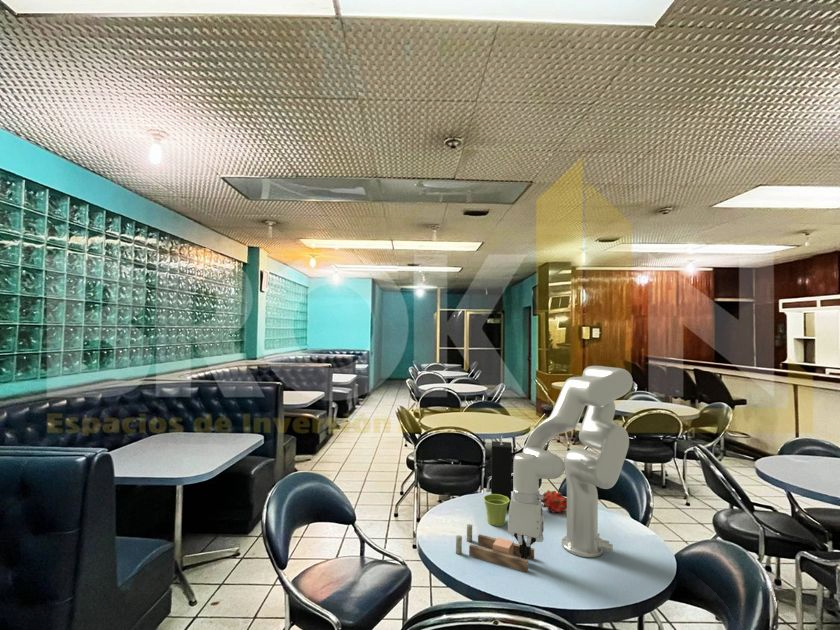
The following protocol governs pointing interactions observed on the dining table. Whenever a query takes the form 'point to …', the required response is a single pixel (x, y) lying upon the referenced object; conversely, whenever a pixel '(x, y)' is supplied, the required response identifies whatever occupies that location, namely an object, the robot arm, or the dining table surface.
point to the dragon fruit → (554, 501)
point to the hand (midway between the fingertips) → (525, 557)
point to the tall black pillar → (501, 469)
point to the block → (503, 546)
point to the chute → (493, 552)
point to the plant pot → (496, 508)
